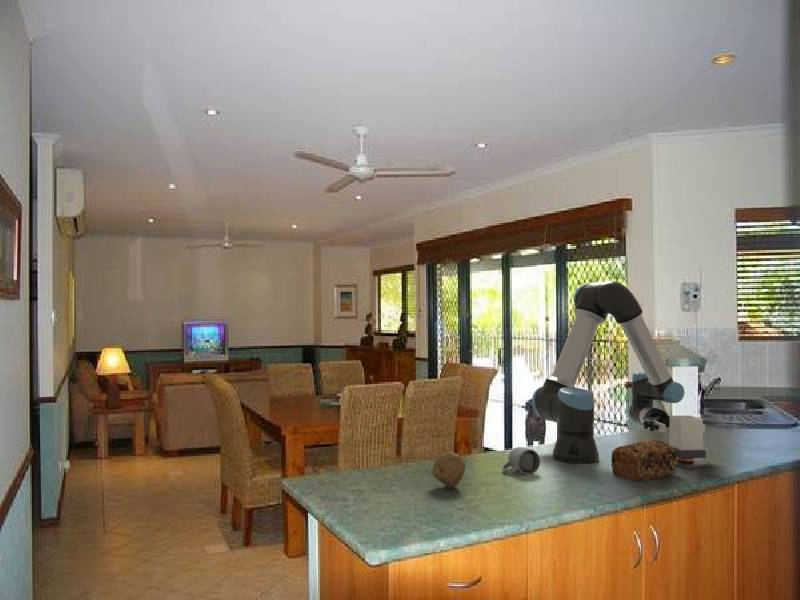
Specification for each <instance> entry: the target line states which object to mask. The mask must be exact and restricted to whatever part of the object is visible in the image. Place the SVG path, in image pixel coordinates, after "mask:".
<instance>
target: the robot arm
mask: <svg viewBox="0 0 800 600" xmlns="http://www.w3.org/2000/svg"><path fill="white" fill-rule="evenodd" d="M573 303H574V304H573V305H574V308H573V309H574V310H573V313H574V315H575V318H574V321H573V323H572V326H571V328H570V330H569V332H568V336H567V338H566V340H565V343H564V345H563V347H562V350H561V352H560V355H559V358H558V360H557V363H556V365H555V367H554V370H553V372H552V374H551V376H549V377H546V378H545V380H544V383H543V385H541V386H540V387H538V388H537V389H536V390H535V391H534V392H533V395H532V398H531V406H532V408H533V411H534V413H535V414H536V416H538V417H539V418H542V419H543V420H546V421H548V422H549V421H550V422H553V423H557V424H558V425H557V428H558V430H557V433H558V434H557V437H556V440H555V444H554V448H553V450H552V459H554V460H555V461H558V462H564V463H567V464H568V463H569V464H593V463H597V462H599V461H600V453H599V451H598V447H597V444H596V440H595V437H594V433H595V431H594V430H595V429H594V428H595V422H594V421H595V398H594V394H593V393H592V392H591V391H589V390H587V389H585V388H578V387H576V382H577V380H578V378H579V375H580V373H581V370H582V368H583V365H584V363H585V360H586V358H587V355H588V352H589V351H590V347H591V345H592V342H593V340H594V337H595V335H596V332H597V330H598V328H599V326H600V325H602V324H604V323H605V322H606V320H607V317H608V316H609V315H610V316H612V317H613V318H614V321H615V323H617V324H618V325H621V328H622V329H623V332H624V334H625V336H626V337H627V340H628V341H629V344H630V346H631V347H632V350H633V352H634V354H635V355H636V357H637V359H638V362H639V363H640V366H641V367H642V369H643V371H635V372H633V373H632V379H631V380H632V381H631V393H632V394H631V395H632V396H631V397H632V398H631V404H630V405H629V406H628V409H627V415H628V418H629V419H630V420H631V421H633V422H634V423H636V424H639V425H642V426H643V429H644V430H647V429H648V428H649V431H650V432H654V430H655V431H657V432H660V433H663V434H666V432H667V428H669V425H670V416H671V415H669V414H668V413H667V412H666V411H665V410H664V409H661V408H658V407H655V406H654V401H659V402H662V403H663V402H664V403H668V404H679V403H680V402H681V401H682V400H683V399H684V397H685V387H684V386H683V384H681V382H677V381H674V379H673V377H672V374H671V373H670V371H669V369H668V367H667V365H666V363H665V361H664V358H663V357H662V354H661V353H660V351H659V349H658V346H657V344H656V342H655V341H654V338H653V336H652V334H651V332H650V330H649V328H648V326H647V324H646V322H645V319H644V318H643V316H642V314H643V309H642V307H641V305H640V304H639V301H638V299H637V298H636V297H635V295H634V294H633V293H632V292H631V291H630V289H629V288H628V287H627V286H626V285H624V284H622V283H621V282H618V281H615V280H608V281H589V282H586V283H583V284H581V285H579V286H578V288H576V290H575V292H574V295H573ZM704 433H705V434H706V424H704V423H703V434H704Z"/></svg>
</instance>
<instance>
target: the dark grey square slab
mask: <svg viewBox="0 0 800 600" xmlns="http://www.w3.org/2000/svg"><path fill="white" fill-rule="evenodd" d="M670 447H671V446H670ZM671 448H673V449H674V450H675V452H676V458H677V457H678V458H694V459H706V458H707V457H706V456H707V453H706V450H705V449H703V450H679V449H677V448H674V447H671Z"/></svg>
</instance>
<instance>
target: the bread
mask: <svg viewBox="0 0 800 600" xmlns="http://www.w3.org/2000/svg"><path fill="white" fill-rule="evenodd" d="M610 461H611V469H612V474H613V475H614V476H617V477H618V478H621V477H622V478H625V479H628V480H630V481H634V482H636V483H639V482H643V481H649V480H650V479H651V480H654V479H655V480H656V479H659V478H664V477H668V476H672V475H674V474H675V473H676V467H677V466H675V465H676V463H677V457H676V452H675V450H674V449H673V448H671V447H670V446H669V444H668V443H665V442H664V441H661V440H657V439H648V440H643V441H637V442H635V443H634V442H633V443H630V444H624V445H621V446H618V447H615V448H614V449H613V450H612V451H611V460H610ZM651 480H650V481H651Z"/></svg>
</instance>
